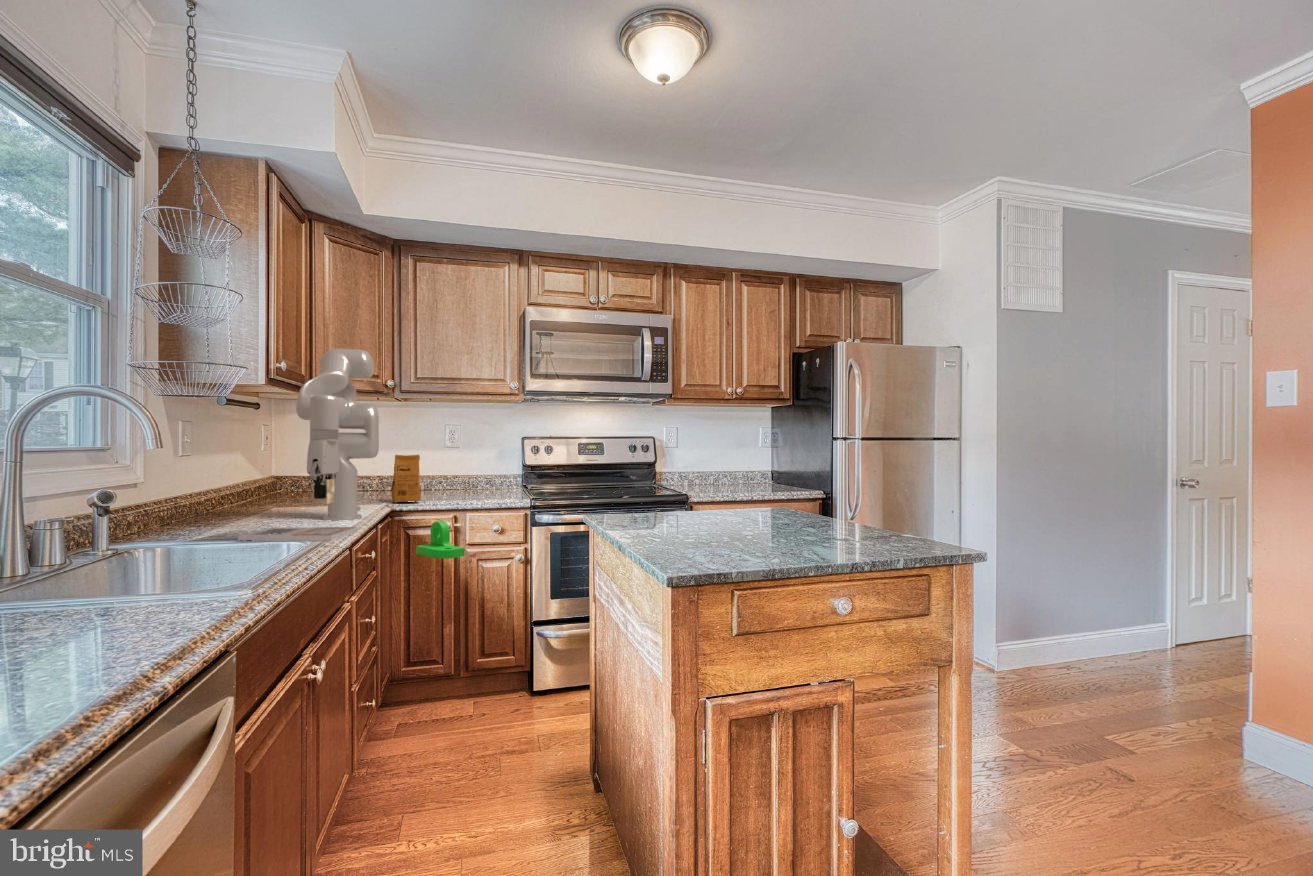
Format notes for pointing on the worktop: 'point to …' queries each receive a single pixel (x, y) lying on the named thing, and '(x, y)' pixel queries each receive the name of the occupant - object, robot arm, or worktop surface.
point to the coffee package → (406, 479)
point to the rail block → (300, 534)
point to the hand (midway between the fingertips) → (324, 497)
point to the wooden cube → (327, 493)
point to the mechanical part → (440, 543)
